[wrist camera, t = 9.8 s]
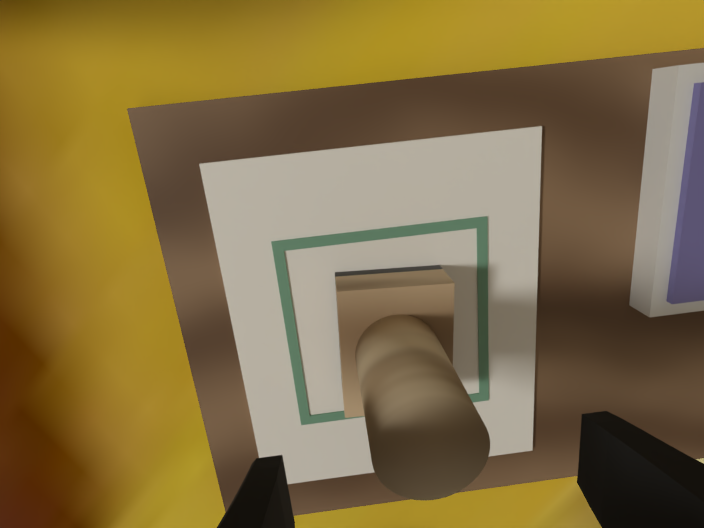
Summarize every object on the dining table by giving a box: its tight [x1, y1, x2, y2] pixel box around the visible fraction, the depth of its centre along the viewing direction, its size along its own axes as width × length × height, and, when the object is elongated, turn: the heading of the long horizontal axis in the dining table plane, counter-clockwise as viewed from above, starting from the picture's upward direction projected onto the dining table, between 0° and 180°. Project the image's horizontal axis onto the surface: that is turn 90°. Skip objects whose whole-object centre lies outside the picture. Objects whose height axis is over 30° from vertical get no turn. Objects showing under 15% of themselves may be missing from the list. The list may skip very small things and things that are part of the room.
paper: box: [199, 126, 542, 484], centre depth 18 cm, size 14×12×1 cm
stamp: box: [335, 265, 490, 500], centre depth 15 cm, size 5×4×7 cm
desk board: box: [127, 48, 704, 516], centre depth 19 cm, size 18×27×1 cm, turn 96°
